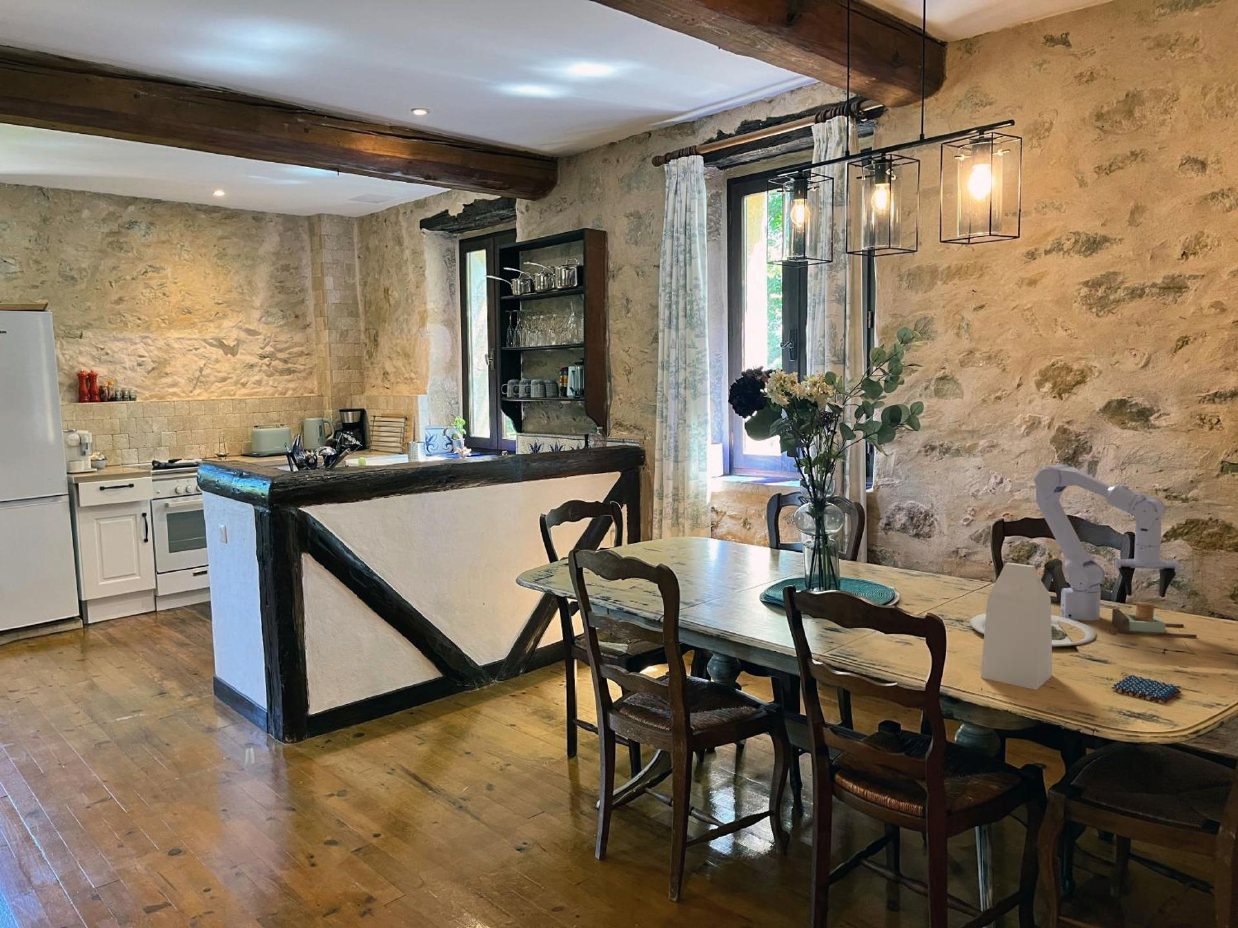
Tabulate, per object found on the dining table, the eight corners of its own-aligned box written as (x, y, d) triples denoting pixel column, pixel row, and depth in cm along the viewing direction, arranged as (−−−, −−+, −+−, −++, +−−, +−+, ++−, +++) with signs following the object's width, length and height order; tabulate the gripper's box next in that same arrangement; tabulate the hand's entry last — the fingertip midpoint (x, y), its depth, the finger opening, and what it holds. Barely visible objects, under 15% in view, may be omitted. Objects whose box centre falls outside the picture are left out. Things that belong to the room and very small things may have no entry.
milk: (1052, 675, 198) (1056, 563, 195) (1036, 689, 189) (1040, 573, 186) (997, 664, 206) (1000, 556, 203) (980, 677, 197) (983, 565, 194)
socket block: (1128, 633, 224) (1129, 621, 223) (1120, 624, 232) (1120, 613, 231) (1164, 635, 221) (1165, 623, 221) (1154, 625, 229) (1155, 614, 229)
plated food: (1079, 621, 240) (1080, 609, 239) (1109, 655, 211) (1110, 642, 211) (964, 615, 248) (964, 603, 247) (977, 647, 219) (977, 634, 219)
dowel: (1137, 631, 225) (1139, 605, 224) (1132, 627, 229) (1134, 601, 228) (1154, 632, 224) (1156, 606, 223) (1149, 628, 228) (1151, 602, 227)
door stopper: (1072, 600, 260) (1073, 561, 259) (1064, 604, 256) (1065, 564, 255) (1041, 595, 267) (1042, 556, 265) (1032, 598, 263) (1034, 559, 261)
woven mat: (1128, 681, 194) (1128, 672, 194) (1182, 694, 186) (1182, 685, 186) (1109, 693, 188) (1109, 683, 187) (1163, 707, 179) (1164, 697, 179)
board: (1128, 644, 218) (1129, 625, 217) (1111, 626, 233) (1112, 608, 232) (1206, 649, 213) (1207, 629, 212) (1183, 630, 228) (1184, 612, 228)
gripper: (1120, 546, 224) (1118, 597, 225) (1184, 548, 219) (1182, 601, 221) (1113, 541, 230) (1111, 591, 232) (1175, 543, 226) (1173, 594, 228)
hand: (1145, 595), depth 227 cm, fingers open, 7 cm apart
